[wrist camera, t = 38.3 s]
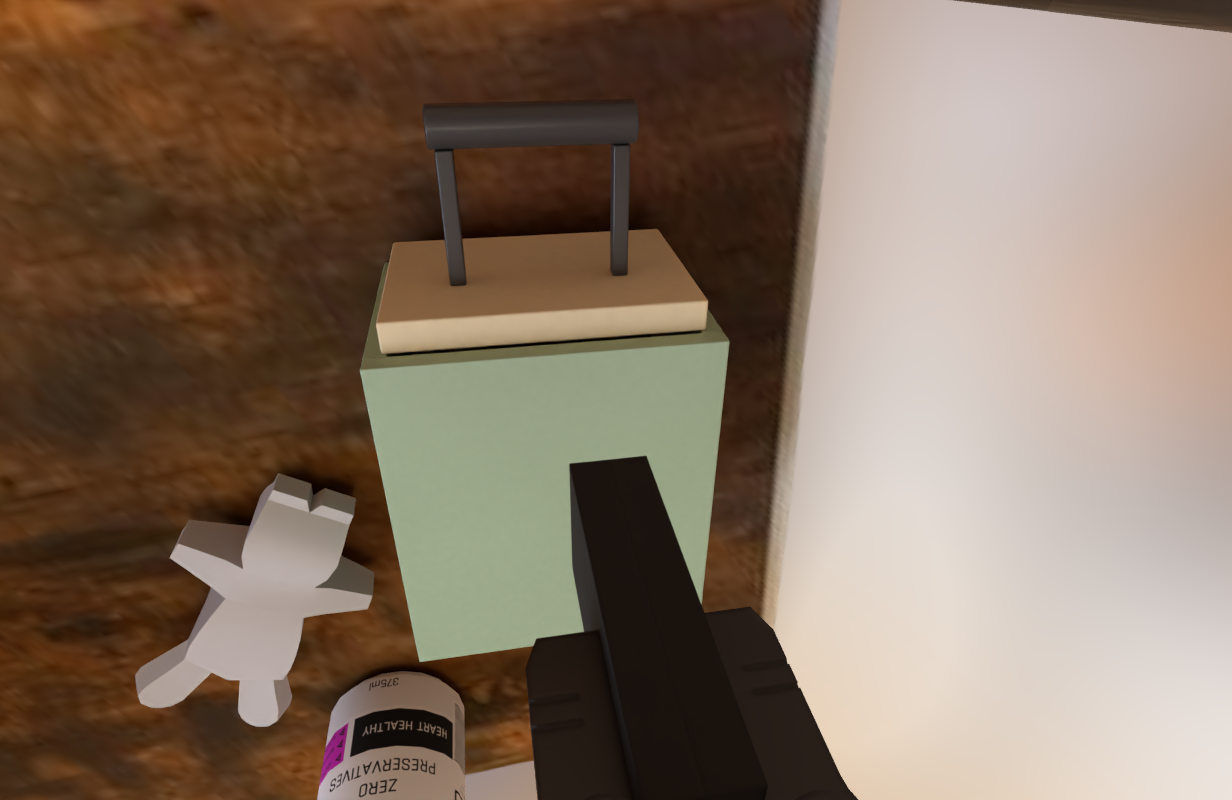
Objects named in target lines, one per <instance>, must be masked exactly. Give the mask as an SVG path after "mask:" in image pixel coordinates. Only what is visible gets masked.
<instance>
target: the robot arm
mask: <svg viewBox="0 0 1232 800" xmlns="http://www.w3.org/2000/svg"><path fill="white" fill-rule="evenodd" d="M569 472H570V506H571V541H572V569H573V574H574V580H575V585H576V591H577V596H578V601H579V607H580V612H581V618H582V623H583V629H584V632H579V633H572V634H565V635H558V636H551V637H544V638H536V641H535V643H534V646H533V649H532V652H531V654H530V657H529V660H528V663H527V666H526V678H527V690H528V702H529V713H530V725H531V736H532V747H533V757H534V768H535V778H536V789H537V800H858V799H857V798H856V797H855V796H854V794H853V793H852V792H851V791H850V790H849V789H848V787H847V785H846V784H845V782H844V780H843V779H842V777H841V775H840V773H839V771H838V769H837V767H836V765H835V763H834V760H833V758H832V756H831V754H830V752H829V749H828V747H827V745H826V743H825V741H824V739H823V736H822V734H821V732H820V730H819V728H818V726H817V723H816V721H815V719H814V717H813V715H812V713H811V710H810V708H809V706H808V704H807V702H806V700H805V697H804V695H803V693H802V691H801V689H800V688H798V685H797V680H796V678H795V676H794V674H793V671H792V669H791V667H790V665H789V664H787V660H786V656H785V654H784V652H783V650H782V647H781V645H780V643H779V641H778V639H777V637H776V634H775V632H774V630H773V629H772V628H771V627H770V626H769V625H768V624H767V623H766V622H765V621H764V620H763V619H762V618H761V617H760V616H759V615H758V614H757V613H756V612H755V611H754V610H753V609H752V608H751V607H745V608H738V609H730V610H723V611H716V612H709V613H704V610H703V608H702V605H701V602H700V600H699V597H698V594H697V591H696V589H695V586H694V583H693V581H692V578H691V575H690V572H689V570H688V567H687V564H686V562H685V559H684V556H683V554H682V551H681V548H680V545H679V543H678V540H677V537H676V535H675V532H674V529H673V526H672V524H671V521H670V518H669V516H668V513H667V510H666V507H665V505H664V502H663V499H662V497H661V494H660V491H659V488H658V486H657V483H656V480H655V478H654V475H653V472H652V470H651V467H650V464H649V461H648V459H647V456H638V457H629V458H619V459H609V460H599V461H590V462H580V463H570V464H569Z"/></svg>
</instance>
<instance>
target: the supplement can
mask: <svg viewBox="0 0 1232 800" xmlns="http://www.w3.org/2000/svg"><path fill="white" fill-rule="evenodd" d="M317 800H465V731H464V705H463V703H462V701H461V699H460V696H459V694H458V693H457V692H455V691H454V690H453V689H452V688H450V687H449V686H448V685H447V684H445V683H443V682H442V681H441V680H440V679H438V678H435V677H432V676H430V675H427V674H424V673H419V672H408V671H398V672H391V673H384V674H380V675H377V676H375V677H372V678H369V679H367V680H364V681H363V682H361V683H360V684H359V685H357V686H355V687H354V688H352V689H351V690H350V691H348V692H347V693H346V694H344V695H343V696H342V697H340V699H339V700H338V702H337V704H336V705H335V707H334V709H333V710H332V712H331V718H330V725H329V731H328V737H327V743H326V749H325V755H324V761H323V767H322V773H321V780H320V786H319V792H318V798H317Z"/></svg>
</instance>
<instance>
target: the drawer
mask: <svg viewBox="0 0 1232 800" xmlns="http://www.w3.org/2000/svg"><path fill="white" fill-rule="evenodd" d="M423 120H424V130H425V137H426V143H427V147H428V149H430V150H435V152H434V154H435V162H436V171H437V179H438V187H439V196H440V204H441V213H442V221H443V229H444V238H445V240H432V241H412V242H395V243H393V246H392V251H391V256H390V260H389V265H388V270H387V274H386V279H385V284H384V289H383V293H382V298H381V303H380V307H379V312H378V317H377V321H376V329H377V334H378V339H379V345H380V350H381V353H382V354H392V353H405V352H412V355H420V354H434V353H447V352H460V351H473V350H486V349H500V348H513V347H522V346H525V345H528V344H532V343H538V342H561V343H579V342H592V341H605V340H619V339H632V338H645V337H658V336H670V335H669V334H668V333H672V332H685V331H698V330H705V329H706V322H707V310H708V300H707V299H706V297H705V296H704V294H703V293H702V291H701V290H700V289H699V287H698V286H697V284H696V283H695V281H694V280H693V279H692V277H691V276H690V274H689V273H688V271H687V270H686V269H685V267H684V266H683V264H682V263H681V262H680V260H679V259H678V257H677V256H676V254H675V253H674V252H673V250H672V249H671V247H670V246H669V244H668V243H667V242H666V240H665V239H664V237H663V236H662V234H661V233H660V232H659V230H658V229H647V230H629V187H630V145H629V144H628V143H635V142H636V141H637V138H638V133H639V112H638V106H637V103H636V101H635V100H633V99H628V100H581V101H535V102H488V103H441V104H424V105H423ZM594 144H611V200H610V231H608V232H588V233H569V234H549V235H529V236H510V237H490V238H471V239H462V230H461V220H460V211H459V201H458V192H457V182H456V173H455V164H454V154H453V149H467V148H498V147H530V146H562V145H594Z"/></svg>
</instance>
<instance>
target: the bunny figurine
mask: <svg viewBox="0 0 1232 800" xmlns="http://www.w3.org/2000/svg"><path fill="white" fill-rule="evenodd" d="M355 502H356V498H354V497H351V496H348V495H344V494H341V493H338V492H335V491H332V490H329V489H326V488H324V489H323V490H321V491H319V492H318V493H316V494H315V495H313V491H312V486H311V483H307V482H304V481H301V480H298V479H295V478H292V477H289V476H286V475H283V474H280V473H278V475H277V476H276V478H275V480H274V482H273V483H272V484H270V485H269V486H267V488H266V489H265V490H264V491H263V493H262V494H261V495H260V498H259V501H258V504H257V507H256V510H255V513H254V516H253V519H252V522H251V525H250V526H243V525H233V524H224V523H215V522H206V521H196V520H189V521H188V523H187V524H186V526H185V527H184V529H183V531H182V533H181V535H180V537H179V539H178V541H177V543H176V546H175V548H174V550H173V552H172V554H171V556H170V558H171V559H172V560H174V561H175V562H177V563H178V564H179V565H181V566H182V567H184V568H185V569H186V570H188V571H189V572H191V573H192V574H193V575H195V576H196V577H198V578H199V579H200V580H202V581H203V582H205V583H206V584H208V585H209V586H210V587H211V589H210V591H209V594H208V597H207V599H206V601H205V604H204V606H203V608H202V610H201V612H200V615H199V617H198V619H197V621H196V623H195V626H194V628H193V630H192V632H191V634H190V637H189V639H188V640H186V641H185V642H183V643H181V644H179V645H178V646H176V647H174V648H173V649H171V650H169V651H168V652H166V653H164V654H162V655H161V656H159V657H157V658H156V659H154V660H152V661H151V662H149V663H147V664H145V665H144V666H142V667H141V668H140V669H139V671H138V672H137V673H136V675H135V679H136V686H137V693H138V697H139V700H140V703H141V704H143V705H146V706H148V707H151V708H163V707H169V706H172V705H174V704H176V703H178V702H180V701H182V700H184V699H185V698H186V697H187V696H188V695H189V694H190V693H191V692H192V691H193V690H194V689H195V688H196V687H197V686H198V685H199V684H200V683H201V682H202V681H203V680H204V679H205V678H207V677H208V676H209V675H210V674H211V673H214V674H216V675H218V676H220V677H222V678H224V679H226V680H240V685H239V702H238V712H239V714H240V716H241V718H242V719H243V720H244V721H246V722H247V723H249V724H251V725H254V726H269V725H271V724H273V723H275V722H276V721H278V719H279V718H280V717H281V716H282V714H283V713H284V712H285V710H286V709H287V708H288V707H289V705H290V702H291V699H292V694H291V690H290V686H289V682H288V678H287V673H288V672H289V670H290V669H291V667H292V664H293V662H294V659H295V656H296V654H297V650H298V646H299V643H300V639H301V634H302V628H303V623H304V618H305V617H310V616H316V615H322V614H330V613H339V612H347V611H356V610H364V609H368V607H369V604H370V601H371V599H372V596H373V584H374V572H373V571H371V570H369V569H367V568H365V567H363V566H361V565H359V564H357V563H355V562H353V561H351V560H349V559H347V558H345V557H343V556H341V554H342V550H343V547H344V543H345V540H346V536H347V532H348V528H349V525H350V523H351V520H352V518H353V516H354V510H355Z"/></svg>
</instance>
